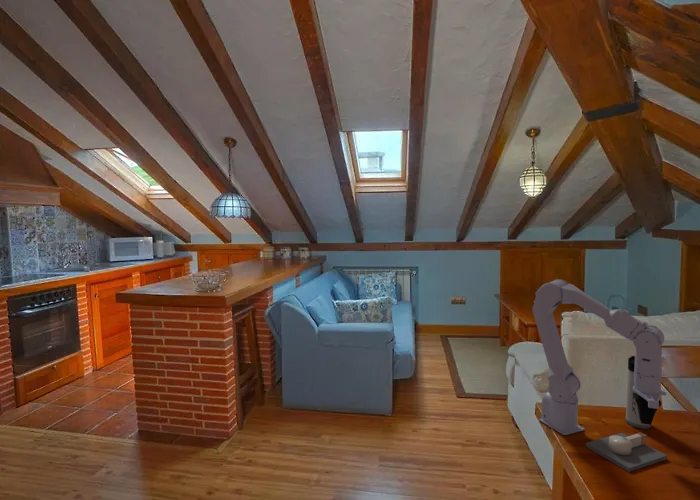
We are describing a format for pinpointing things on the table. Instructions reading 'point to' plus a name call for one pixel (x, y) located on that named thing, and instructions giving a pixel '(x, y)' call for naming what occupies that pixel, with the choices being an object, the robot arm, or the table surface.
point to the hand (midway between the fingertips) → (645, 422)
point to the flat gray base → (631, 462)
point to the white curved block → (626, 443)
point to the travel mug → (632, 399)
